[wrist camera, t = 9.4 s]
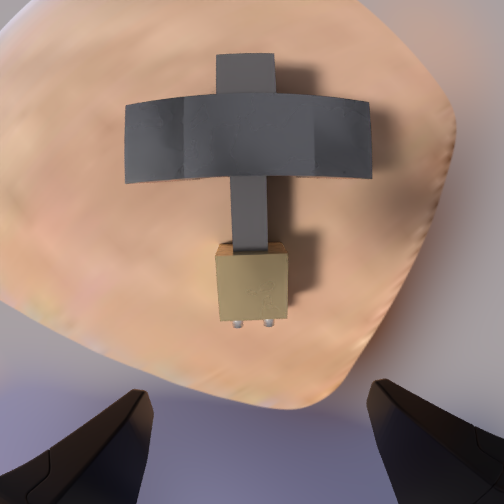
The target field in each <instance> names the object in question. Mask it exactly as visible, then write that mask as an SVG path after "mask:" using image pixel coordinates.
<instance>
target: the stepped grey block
mask: <svg viewBox="0 0 504 504" xmlns="http://www.w3.org/2000/svg"><path fill="white" fill-rule="evenodd" d="M230 93H276V78H275V61H274V53H242V54H220V55H216V94H230ZM230 189H231V215H232V239H233V252H239V251H267V250H268V226H267V183H266V176H235V177H230Z"/></svg>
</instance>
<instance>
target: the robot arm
mask: <svg viewBox="0 0 504 504" xmlns="http://www.w3.org/2000/svg"><path fill="white" fill-rule="evenodd" d="M366 404H367V410H368V413H369V417H370V421H371V425H372V428H373V432H374V436H375V440H376V443H377V447H378V450H379V453H380V455H381V458H382V460H383V463H384V466H385V468H386V471H387V474H388V476H389V479H390V482H391V484H392V487H393V490H394V492H395V495H396V498H397V501H398V504H504V439H503V438H501V437H498V436H495V435H493V434H491V433H489V432H486V431H484V430H482V429H480V428H478V427H476V426H475V427H474V426H473V425H472V424H470V423H468V422H466V421H464V420H462V419H460V418H458V417H456V416H454V415H452V414H451V413H449V412H447V411H445V410H443V409H441V408H439V407H437V406H435V405H434V404H432V403H430V402H428V401H426V400H424V399H422V398H421V397H419V396H417V395H415V394H413V393H411V392H410V391H408V390H406V389H404V388H402V387H401V386H399V385H397V384H395V383H393V382H392V381H390V380H388V379H379V380H375V381H373V383H372V385H371V388H370V391H369V395H368V398H367V403H366ZM153 417H154V412H153V408H152V405H151V402H150V399H149V396H148V393H147V392H146V391H144V390H138V389H132V390H131V391H129V392H128V393H127V394H126V395H124V396H123V397H121V398H120V399H119V400H117V401H116V402H114V403H113V404H112V405H110V406H109V407H108V408H106V409H105V410H103V411H102V412H101V413H100V414H98V415H97V416H95V417H94V418H92V419H91V420H90V421H88V422H87V423H85V424H84V425H83V426H81V427H80V428H78V429H77V430H76V431H74V432H73V433H71V434H70V435H68V436H67V437H66V438H64V439H62V440H61V441H60V442H58V443H57V444H55V445H54V446H52V447H51V448H50V450H46V451H45V452H43V453H42V454H40V455H39V456H37V457H35V458H34V459H32V460H30V461H29V462H27V463H25V464H23V465H22V466H20V467H18V468H16V469H14V470H12V471H10V472H7V473H5V474H3V475H1V476H0V504H136V503H137V498H138V494H139V490H140V487H141V483H142V479H143V475H144V471H145V467H146V463H147V459H148V452H149V445H150V438H151V430H152V423H153Z"/></svg>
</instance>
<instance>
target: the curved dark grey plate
mask: <svg viewBox="0 0 504 504" xmlns="http://www.w3.org/2000/svg"><path fill="white" fill-rule="evenodd" d="M235 176H296V177H298V178H334V179H372V141H371V122H370V108H369V102H364V101H358V100H351V99H344V98H335V97H326V96H315V95H302V94H283V93H230V94H210V95H197V96H186V97H177V98H169V99H161V100H154V101H148V102H142V103H136V104H130V105H126V110H125V184H130V183H155V182H167V181H181V180H198V179H200V178H209V177H235Z"/></svg>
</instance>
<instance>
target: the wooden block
mask: <svg viewBox="0 0 504 504" xmlns="http://www.w3.org/2000/svg"><path fill="white" fill-rule="evenodd" d="M215 261H216V276H217V290H218V302H219V315H220V321H232V325H233V327H234V328H241V327H243V321H245V320H263V322H264V326H266V327H272V326H274V319H286V318H287V308H288V252H287V251H286V249H285V248H284V246H283V244H282V243H281V242H269V243H268V250H267V251H239V252H233V244H219V247H218V250H217V253H216V255H215Z"/></svg>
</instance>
